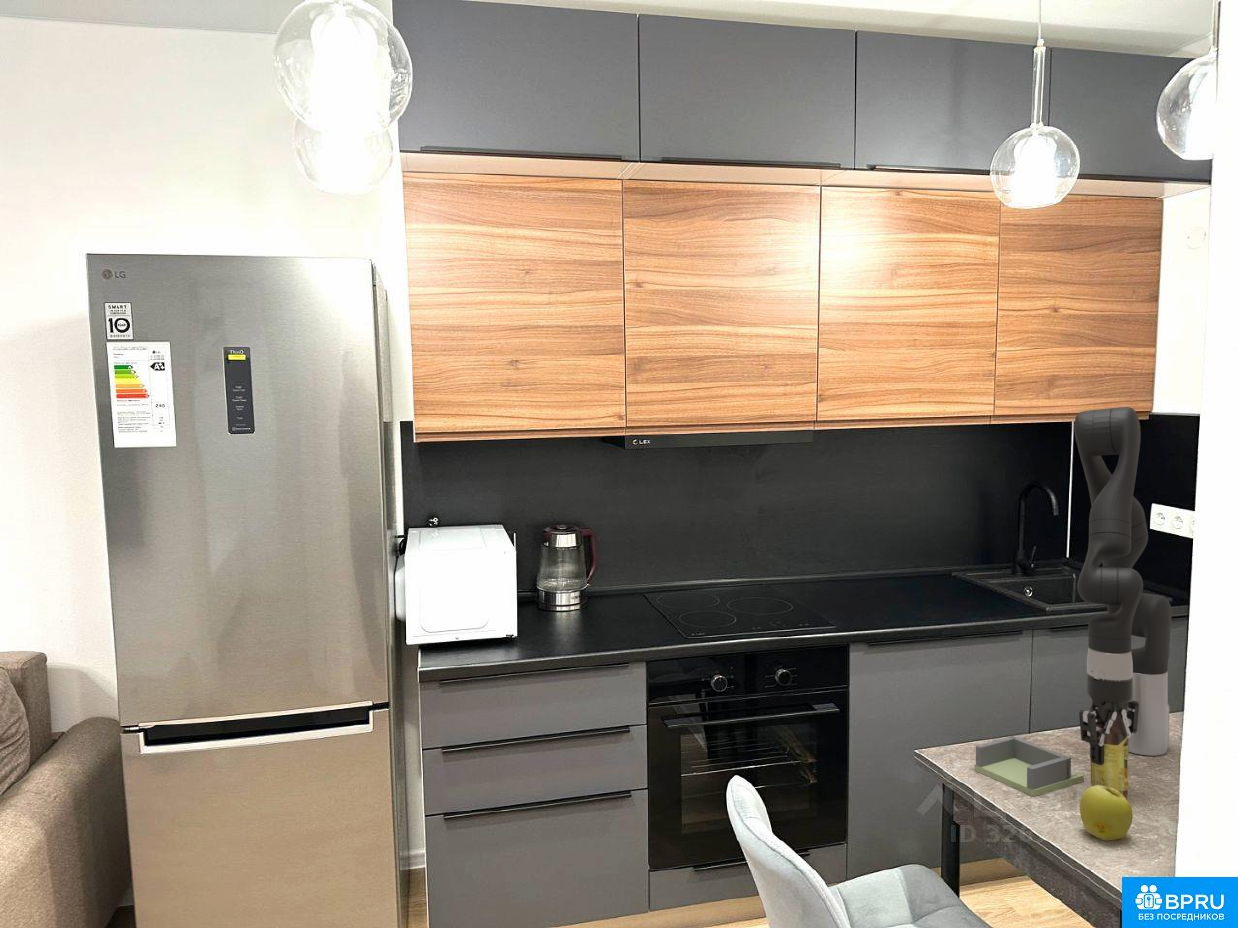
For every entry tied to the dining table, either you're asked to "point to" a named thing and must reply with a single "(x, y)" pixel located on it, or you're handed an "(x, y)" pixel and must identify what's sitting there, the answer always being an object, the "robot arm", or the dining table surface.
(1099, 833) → the apple
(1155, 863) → the dining table surface
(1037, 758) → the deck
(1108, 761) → the sauce bottle
